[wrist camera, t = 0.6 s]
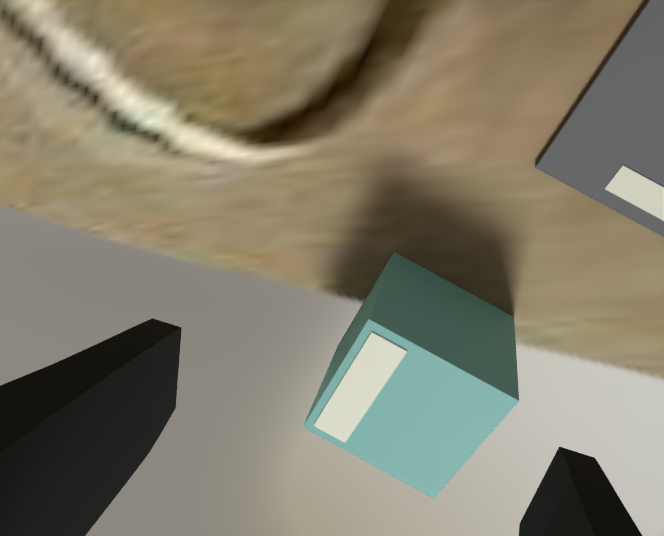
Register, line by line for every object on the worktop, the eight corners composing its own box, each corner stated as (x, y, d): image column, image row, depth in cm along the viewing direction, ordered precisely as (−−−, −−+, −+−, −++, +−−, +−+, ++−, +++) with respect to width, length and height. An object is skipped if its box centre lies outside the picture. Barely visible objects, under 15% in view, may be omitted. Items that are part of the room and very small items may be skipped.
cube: (513, 315, 20) (519, 402, 16) (444, 404, 22) (433, 500, 18) (394, 250, 20) (368, 319, 16) (337, 346, 22) (302, 428, 18)
